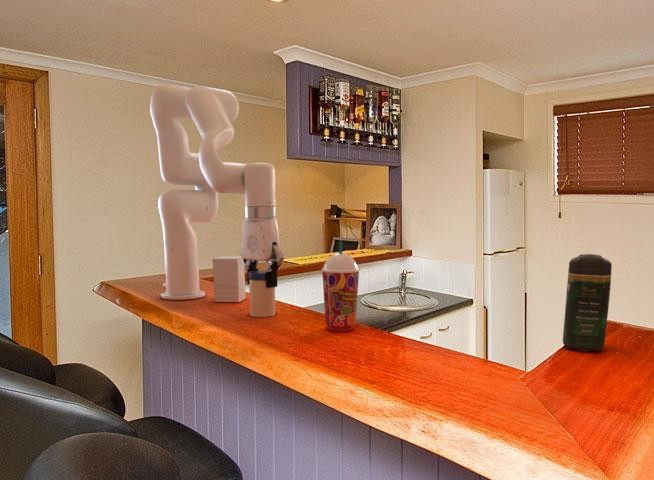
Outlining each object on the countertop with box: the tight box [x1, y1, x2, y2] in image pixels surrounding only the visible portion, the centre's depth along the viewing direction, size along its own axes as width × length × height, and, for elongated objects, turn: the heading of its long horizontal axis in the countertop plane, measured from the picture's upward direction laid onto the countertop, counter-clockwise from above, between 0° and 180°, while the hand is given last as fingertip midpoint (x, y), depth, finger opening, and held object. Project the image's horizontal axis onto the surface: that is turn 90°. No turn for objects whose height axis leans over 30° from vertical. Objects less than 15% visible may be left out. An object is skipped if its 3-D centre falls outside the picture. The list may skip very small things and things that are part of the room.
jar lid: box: [248, 269, 268, 280], centre depth 141 cm, size 7×7×2 cm
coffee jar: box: [562, 253, 613, 352], centre depth 111 cm, size 10×8×19 cm
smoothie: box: [321, 240, 360, 333], centre depth 125 cm, size 8×8×20 cm
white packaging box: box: [211, 255, 247, 303], centre depth 161 cm, size 7×7×13 cm
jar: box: [248, 279, 276, 318], centre depth 141 cm, size 6×6×10 cm
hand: (262, 285), depth 141 cm, fingers closed on jar lid, 6 cm apart
